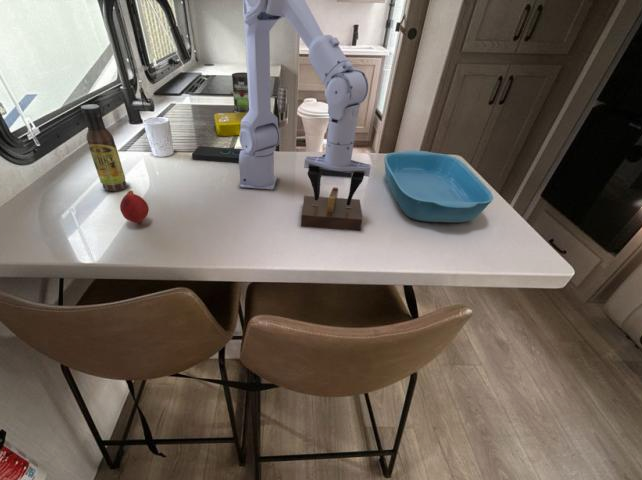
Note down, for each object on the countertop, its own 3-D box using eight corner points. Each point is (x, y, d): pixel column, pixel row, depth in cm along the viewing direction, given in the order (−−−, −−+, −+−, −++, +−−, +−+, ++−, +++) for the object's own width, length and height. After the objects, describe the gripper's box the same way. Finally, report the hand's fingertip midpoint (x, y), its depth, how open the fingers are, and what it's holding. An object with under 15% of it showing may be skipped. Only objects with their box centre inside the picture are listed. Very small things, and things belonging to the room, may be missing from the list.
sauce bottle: (100, 192, 88) (68, 109, 75) (108, 182, 93) (79, 102, 79) (124, 192, 89) (97, 109, 75) (131, 182, 93) (107, 102, 80)
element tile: (256, 135, 126) (256, 121, 123) (217, 136, 124) (215, 122, 120) (251, 123, 137) (250, 110, 134) (214, 124, 134) (213, 111, 131)
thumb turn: (332, 212, 78) (334, 197, 75) (326, 211, 78) (328, 196, 75) (336, 202, 82) (338, 187, 79) (331, 201, 82) (332, 186, 79)
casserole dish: (373, 170, 104) (378, 146, 100) (444, 172, 105) (452, 149, 100) (400, 232, 78) (408, 204, 73) (495, 235, 78) (509, 208, 73)
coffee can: (254, 115, 146) (252, 77, 136) (231, 113, 147) (228, 76, 137) (259, 109, 153) (258, 73, 144) (238, 107, 154) (235, 71, 145)
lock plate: (300, 226, 79) (301, 214, 76) (303, 206, 86) (304, 194, 84) (360, 230, 78) (362, 218, 76) (357, 210, 85) (359, 198, 83)
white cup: (180, 152, 111) (174, 119, 104) (162, 159, 106) (154, 125, 100) (164, 147, 114) (157, 115, 107) (145, 154, 109) (137, 121, 102)
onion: (137, 232, 75) (126, 199, 69) (120, 224, 77) (108, 192, 72) (157, 221, 79) (148, 189, 73) (140, 214, 81) (130, 182, 75)
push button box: (311, 174, 101) (312, 161, 98) (312, 163, 107) (313, 150, 104) (350, 177, 100) (353, 164, 97) (349, 166, 107) (351, 153, 104)
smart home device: (252, 158, 104) (191, 154, 106) (252, 164, 106) (191, 159, 107) (257, 149, 110) (199, 145, 112) (257, 154, 112) (199, 150, 113)
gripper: (376, 138, 71) (365, 198, 80) (311, 131, 74) (307, 189, 83) (373, 149, 66) (361, 211, 75) (303, 141, 69) (300, 201, 78)
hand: (332, 200), depth 79 cm, fingers open, 7 cm apart
